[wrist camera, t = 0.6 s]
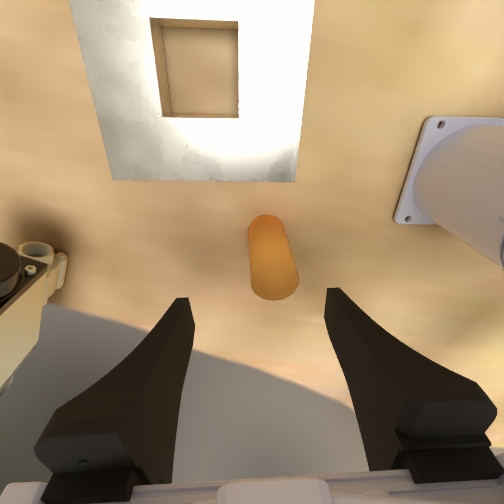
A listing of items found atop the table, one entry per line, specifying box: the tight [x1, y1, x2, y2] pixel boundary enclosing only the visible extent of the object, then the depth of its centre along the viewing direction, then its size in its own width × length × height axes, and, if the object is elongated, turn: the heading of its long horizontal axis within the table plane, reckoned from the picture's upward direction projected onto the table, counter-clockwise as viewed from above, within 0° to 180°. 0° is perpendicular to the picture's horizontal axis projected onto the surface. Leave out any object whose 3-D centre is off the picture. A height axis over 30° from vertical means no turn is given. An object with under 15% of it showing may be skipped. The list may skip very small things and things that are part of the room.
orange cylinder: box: [248, 215, 299, 300], centre depth 20 cm, size 3×3×7 cm
